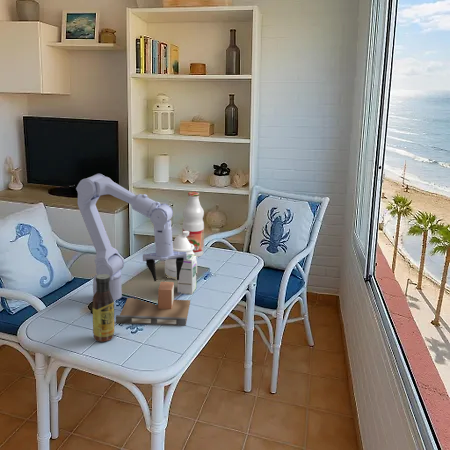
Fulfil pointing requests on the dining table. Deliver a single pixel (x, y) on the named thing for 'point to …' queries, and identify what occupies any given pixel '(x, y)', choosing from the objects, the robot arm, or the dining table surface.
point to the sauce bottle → (103, 310)
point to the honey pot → (179, 246)
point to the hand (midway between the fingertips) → (166, 279)
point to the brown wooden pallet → (153, 313)
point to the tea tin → (166, 295)
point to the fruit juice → (194, 223)
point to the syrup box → (187, 275)
